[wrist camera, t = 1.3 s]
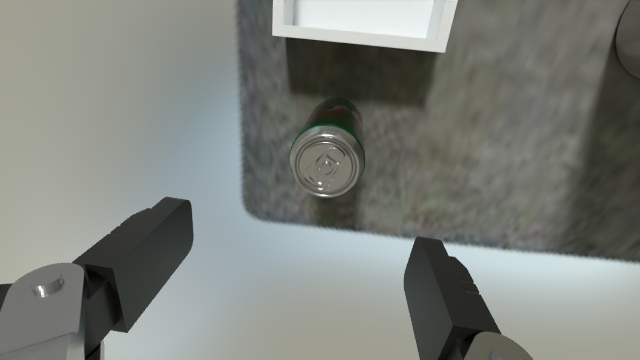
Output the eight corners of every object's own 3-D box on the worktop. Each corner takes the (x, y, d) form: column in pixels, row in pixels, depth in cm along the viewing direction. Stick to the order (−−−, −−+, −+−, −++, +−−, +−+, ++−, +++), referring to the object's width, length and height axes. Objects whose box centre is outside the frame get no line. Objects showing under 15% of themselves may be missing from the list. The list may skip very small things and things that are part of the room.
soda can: (301, 127, 30) (270, 173, 19) (331, 85, 28) (316, 111, 17) (340, 156, 31) (332, 216, 20) (372, 118, 29) (382, 161, 18)
